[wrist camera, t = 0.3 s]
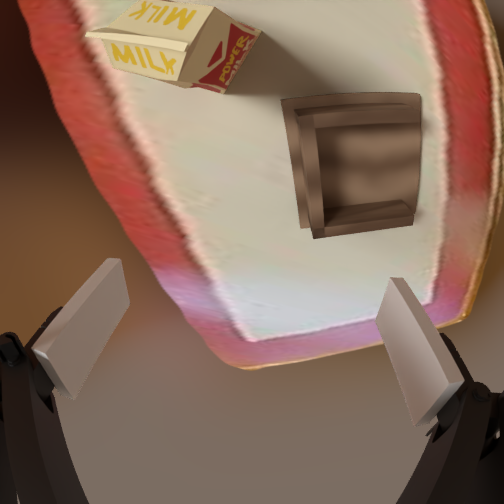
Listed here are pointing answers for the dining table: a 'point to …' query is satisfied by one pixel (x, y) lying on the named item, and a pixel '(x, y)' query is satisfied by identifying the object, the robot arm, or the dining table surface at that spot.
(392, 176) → the carton bracket
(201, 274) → the dining table surface
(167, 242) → the dining table surface
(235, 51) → the milk carton
